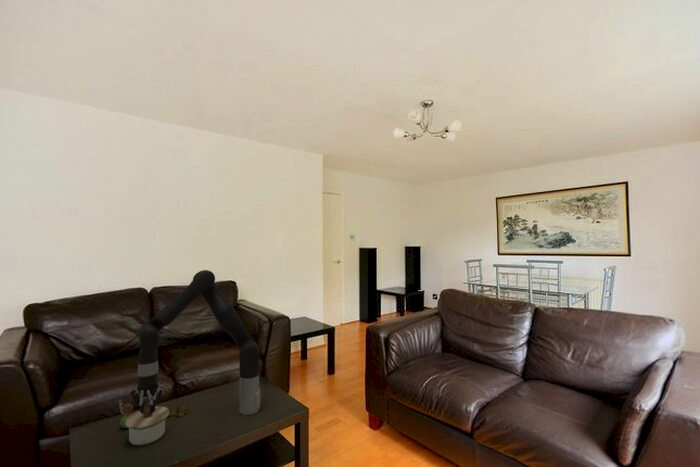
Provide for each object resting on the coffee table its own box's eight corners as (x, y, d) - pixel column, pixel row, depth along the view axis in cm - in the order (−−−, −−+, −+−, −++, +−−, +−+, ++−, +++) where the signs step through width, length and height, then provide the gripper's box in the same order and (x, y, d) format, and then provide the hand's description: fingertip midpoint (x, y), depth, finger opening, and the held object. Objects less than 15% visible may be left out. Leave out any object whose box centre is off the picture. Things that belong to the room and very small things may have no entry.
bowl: (170, 427, 147) (170, 413, 147) (154, 445, 134) (154, 429, 134) (141, 428, 146) (141, 413, 147) (121, 446, 133) (122, 430, 134)
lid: (175, 408, 149) (176, 394, 149) (156, 428, 133) (156, 413, 133) (140, 409, 148) (140, 395, 148) (116, 429, 132) (116, 414, 132)
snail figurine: (122, 424, 150) (122, 397, 150) (137, 423, 151) (137, 397, 151) (114, 431, 145) (115, 403, 145) (130, 430, 145) (130, 402, 145)
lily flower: (169, 423, 151) (170, 413, 151) (159, 414, 159) (159, 405, 159) (195, 413, 160) (195, 403, 160) (185, 405, 168) (185, 396, 168)
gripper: (169, 368, 145) (168, 408, 144) (136, 369, 144) (136, 409, 144) (159, 375, 137) (159, 417, 137) (125, 376, 137) (125, 418, 136)
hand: (147, 412), depth 140 cm, fingers closed on lid, 3 cm apart
